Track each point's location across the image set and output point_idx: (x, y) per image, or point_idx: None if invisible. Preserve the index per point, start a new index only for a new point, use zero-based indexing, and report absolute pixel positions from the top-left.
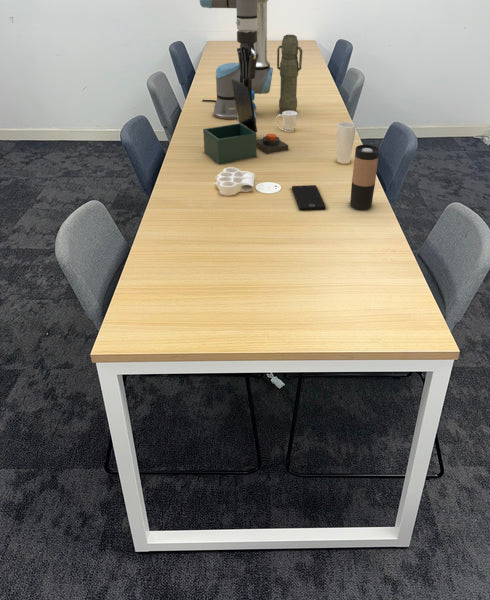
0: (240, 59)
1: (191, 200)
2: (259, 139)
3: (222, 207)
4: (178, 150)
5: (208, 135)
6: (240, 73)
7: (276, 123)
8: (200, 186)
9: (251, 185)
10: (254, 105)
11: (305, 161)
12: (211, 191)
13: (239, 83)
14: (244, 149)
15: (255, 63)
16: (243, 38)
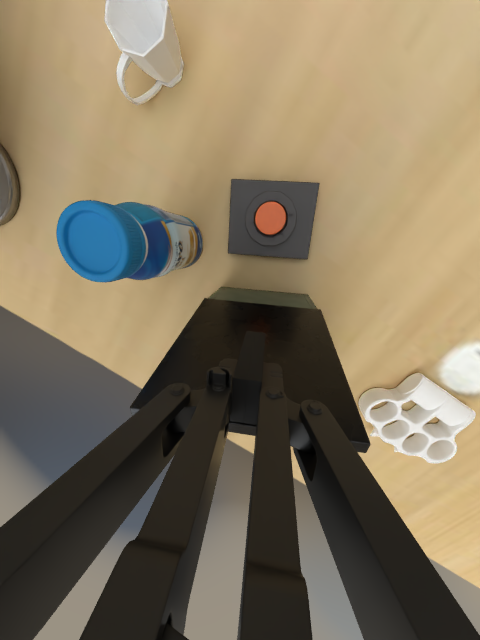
0: (86, 563)
1: (404, 488)
2: (231, 236)
3: (469, 471)
4: None
5: None
6: (167, 432)
7: (133, 99)
8: (365, 454)
9: (474, 416)
10: (151, 221)
11: (420, 192)
12: (398, 452)
13: (238, 432)
14: None
15: (442, 597)
16: None
